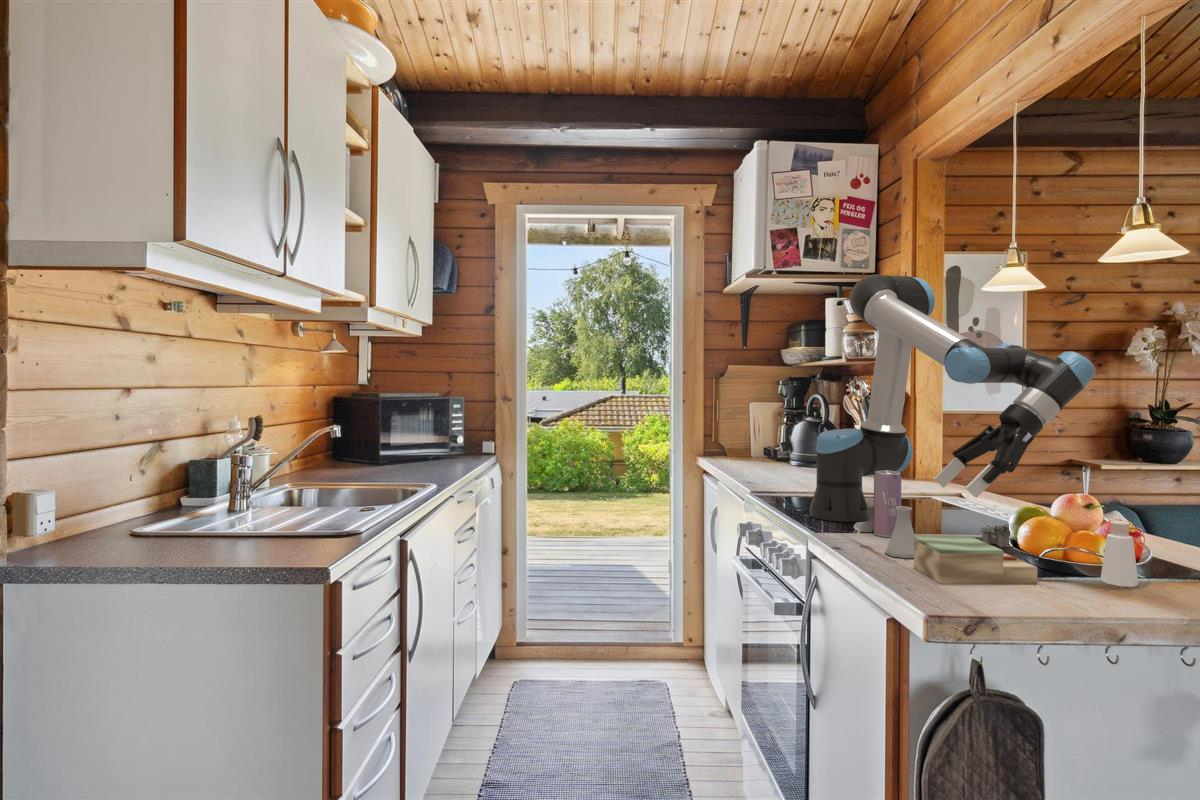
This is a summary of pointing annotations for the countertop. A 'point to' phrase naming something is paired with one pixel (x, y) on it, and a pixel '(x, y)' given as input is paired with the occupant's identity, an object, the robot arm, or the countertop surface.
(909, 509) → the flask
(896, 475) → the beverage can
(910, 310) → the robot arm
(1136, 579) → the salt shaker
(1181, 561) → the countertop surface
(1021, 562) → the stand
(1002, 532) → the egg carton
